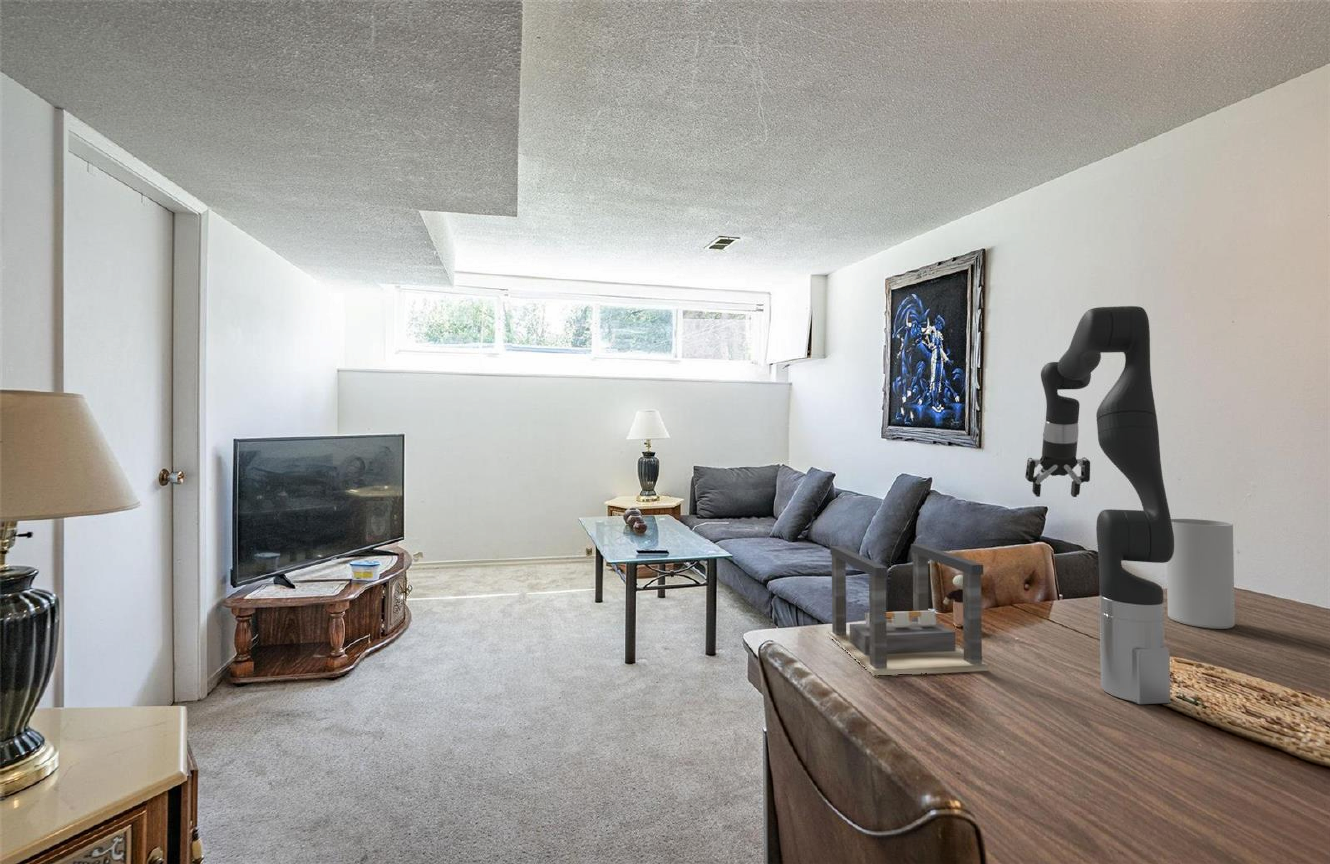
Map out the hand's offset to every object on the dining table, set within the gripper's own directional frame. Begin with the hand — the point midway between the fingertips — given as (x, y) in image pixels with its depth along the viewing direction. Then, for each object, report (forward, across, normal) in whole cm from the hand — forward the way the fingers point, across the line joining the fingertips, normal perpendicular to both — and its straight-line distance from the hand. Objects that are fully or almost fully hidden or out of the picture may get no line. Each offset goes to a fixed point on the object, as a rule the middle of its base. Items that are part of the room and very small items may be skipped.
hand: (1055, 495), depth 160 cm
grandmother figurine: (+24, -28, -28) cm, 46 cm away
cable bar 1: (-3, -52, -47) cm, 70 cm away
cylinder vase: (+30, +31, -10) cm, 44 cm away
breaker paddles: (+11, -43, -48) cm, 65 cm away
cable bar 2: (-1, -34, -40) cm, 52 cm away
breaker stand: (+16, -43, -49) cm, 68 cm away
